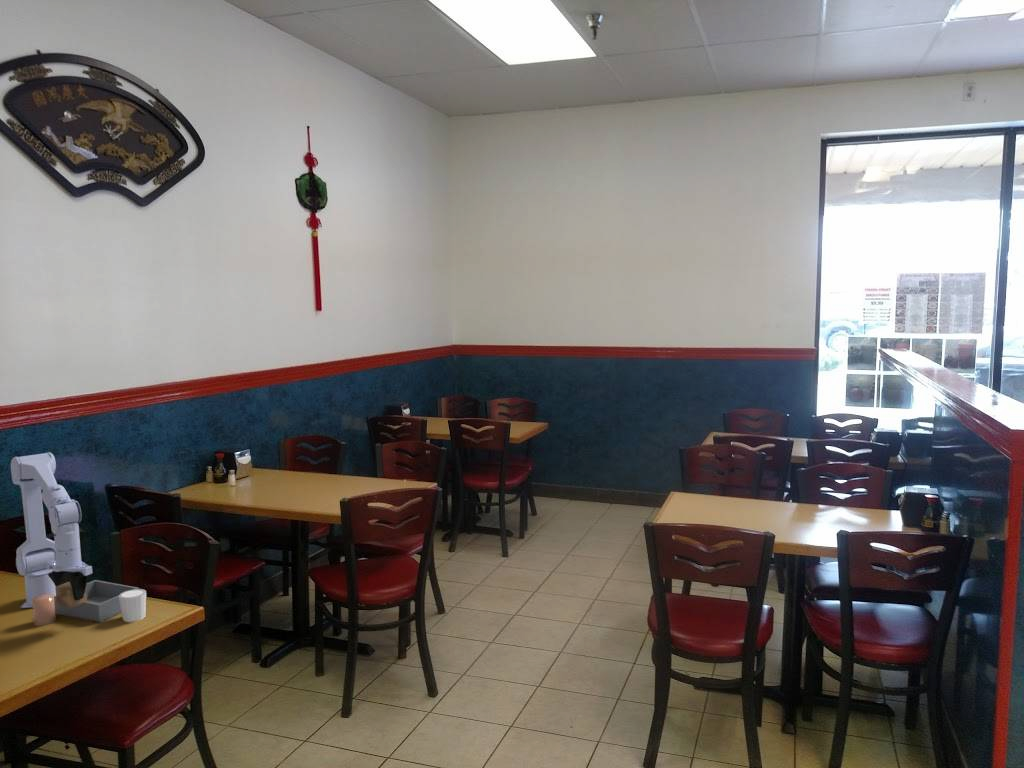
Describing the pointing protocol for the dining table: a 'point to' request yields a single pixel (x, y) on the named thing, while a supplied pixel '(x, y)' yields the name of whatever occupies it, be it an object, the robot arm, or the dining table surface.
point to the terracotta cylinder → (44, 609)
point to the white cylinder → (133, 604)
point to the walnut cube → (67, 596)
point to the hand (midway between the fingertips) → (71, 597)
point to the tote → (97, 602)
